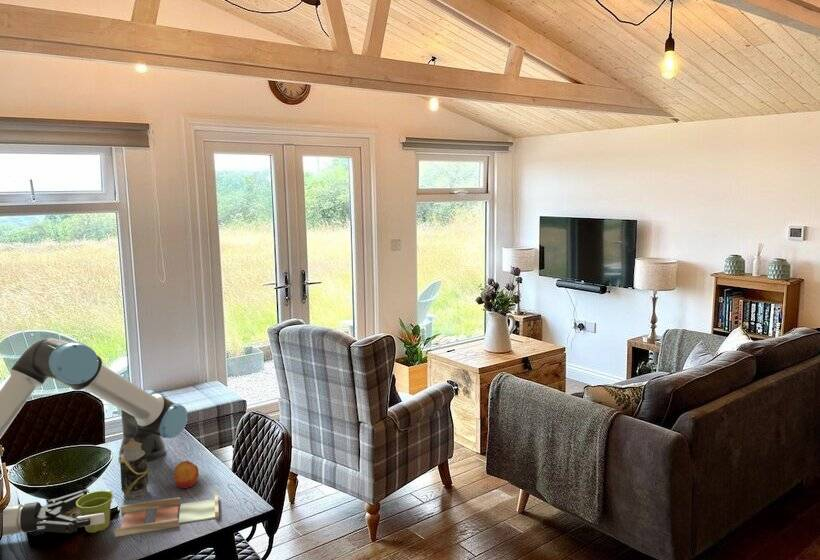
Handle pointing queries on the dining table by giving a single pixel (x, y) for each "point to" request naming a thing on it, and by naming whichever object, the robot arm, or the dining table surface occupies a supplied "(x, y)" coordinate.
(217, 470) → the dining table surface
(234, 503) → the dining table surface
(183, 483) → the fruit
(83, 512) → the plant pot
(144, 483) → the lantern
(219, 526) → the dining table surface
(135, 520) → the trap box
